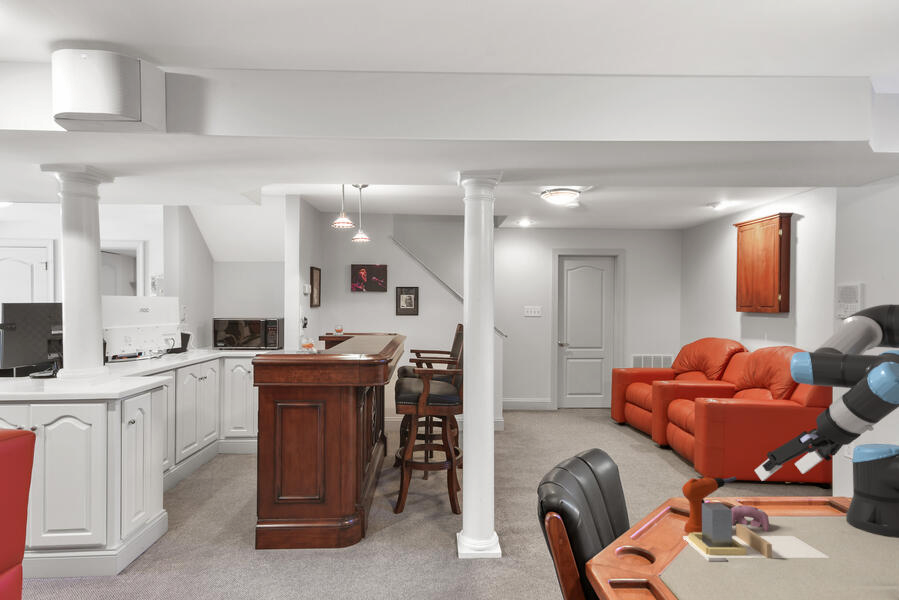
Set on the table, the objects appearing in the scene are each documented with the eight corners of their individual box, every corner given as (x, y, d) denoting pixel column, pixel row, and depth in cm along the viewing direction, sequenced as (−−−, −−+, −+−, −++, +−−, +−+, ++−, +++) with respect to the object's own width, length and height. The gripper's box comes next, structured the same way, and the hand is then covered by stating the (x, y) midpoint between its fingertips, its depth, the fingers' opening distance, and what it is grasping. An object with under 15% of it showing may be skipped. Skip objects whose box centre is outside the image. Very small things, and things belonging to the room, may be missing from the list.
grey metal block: (720, 542, 137) (720, 503, 137) (732, 550, 132) (731, 509, 132) (702, 542, 137) (701, 503, 137) (712, 550, 132) (712, 509, 132)
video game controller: (769, 536, 147) (768, 510, 150) (769, 534, 143) (768, 507, 146) (729, 529, 152) (729, 503, 155) (728, 526, 148) (728, 500, 151)
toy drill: (747, 523, 148) (741, 470, 148) (693, 539, 142) (688, 484, 142) (733, 517, 153) (727, 465, 153) (680, 532, 147) (675, 479, 147)
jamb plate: (793, 539, 141) (793, 523, 142) (829, 561, 128) (829, 544, 129) (683, 538, 141) (683, 523, 141) (708, 561, 128) (708, 544, 128)
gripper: (818, 441, 105) (752, 493, 118) (896, 430, 114) (826, 479, 127) (791, 410, 110) (731, 463, 123) (868, 401, 119) (804, 452, 132)
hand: (779, 472), depth 125 cm, fingers open, 13 cm apart
